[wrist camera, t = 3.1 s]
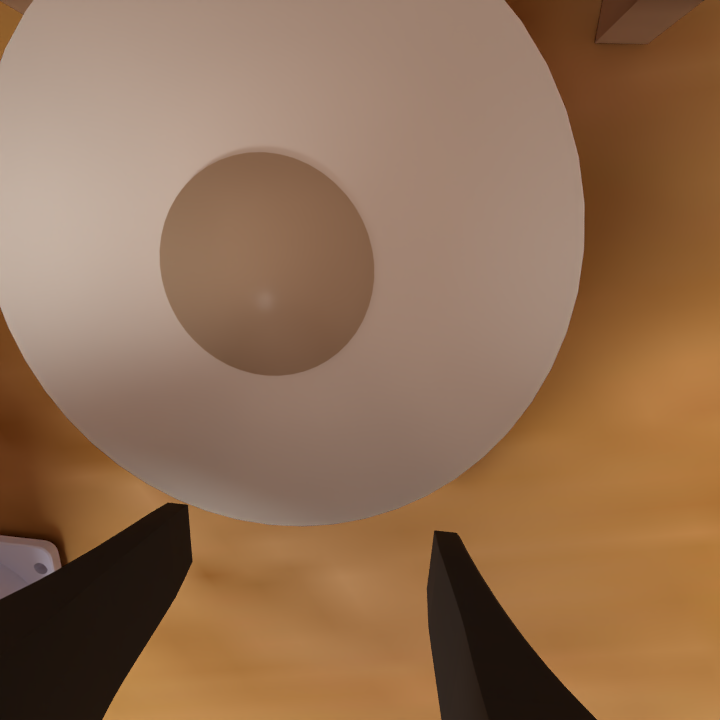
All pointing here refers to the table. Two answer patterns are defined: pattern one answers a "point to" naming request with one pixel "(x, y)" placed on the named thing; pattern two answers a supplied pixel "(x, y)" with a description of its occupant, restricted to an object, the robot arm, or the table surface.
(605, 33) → the cradle
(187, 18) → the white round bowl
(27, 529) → the table surface
